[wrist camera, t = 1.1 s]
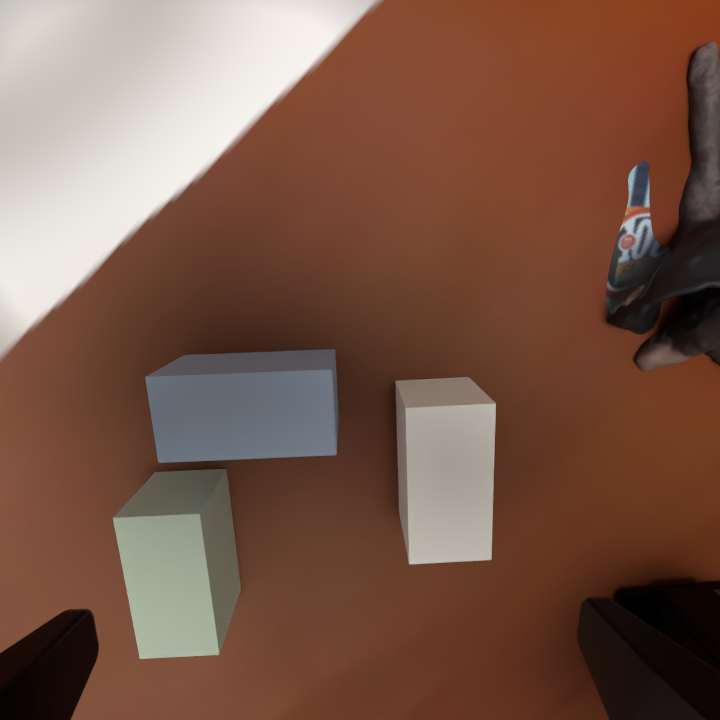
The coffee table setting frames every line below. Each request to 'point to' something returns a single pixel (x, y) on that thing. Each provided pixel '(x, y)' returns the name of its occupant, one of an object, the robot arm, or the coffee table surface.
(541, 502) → the coffee table surface
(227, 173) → the coffee table surface
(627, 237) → the stuffed animal
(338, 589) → the coffee table surface
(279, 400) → the slate brick
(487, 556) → the cream brick
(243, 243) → the coffee table surface
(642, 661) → the robot arm
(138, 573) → the sage brick
